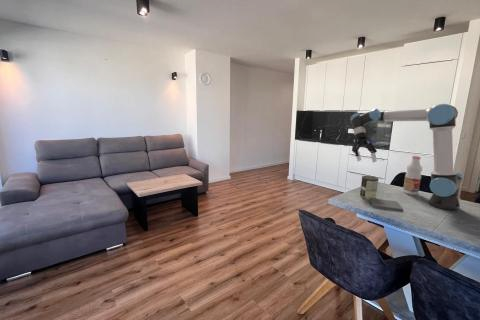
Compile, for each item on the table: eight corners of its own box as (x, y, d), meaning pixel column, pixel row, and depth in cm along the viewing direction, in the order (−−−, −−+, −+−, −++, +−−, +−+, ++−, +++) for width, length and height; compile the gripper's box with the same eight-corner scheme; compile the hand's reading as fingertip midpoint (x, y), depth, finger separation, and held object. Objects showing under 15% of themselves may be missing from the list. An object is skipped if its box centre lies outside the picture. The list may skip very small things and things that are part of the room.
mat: (396, 203, 154) (396, 201, 154) (402, 211, 141) (403, 209, 141) (369, 200, 159) (369, 197, 159) (373, 207, 146) (373, 205, 146)
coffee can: (357, 196, 166) (359, 177, 163) (363, 193, 173) (365, 175, 170) (372, 200, 158) (375, 180, 156) (378, 197, 165) (381, 178, 162)
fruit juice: (404, 190, 182) (409, 155, 176) (418, 193, 175) (425, 156, 170) (401, 192, 175) (407, 156, 170) (416, 196, 169) (423, 158, 163)
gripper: (369, 137, 177) (376, 163, 170) (342, 134, 170) (348, 162, 162) (377, 133, 170) (385, 160, 163) (349, 130, 163) (356, 158, 156)
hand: (367, 161), depth 163 cm, fingers open, 13 cm apart
